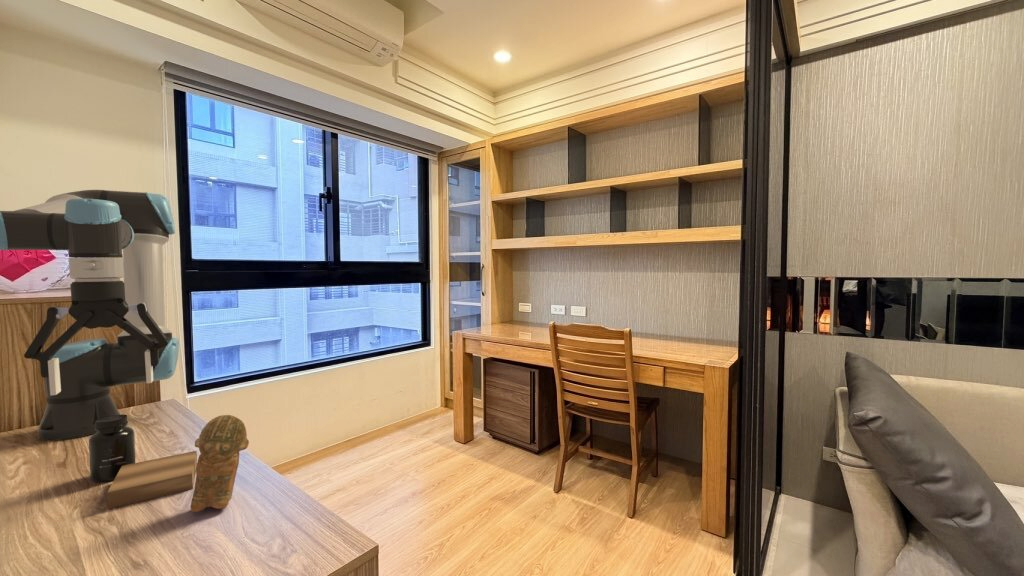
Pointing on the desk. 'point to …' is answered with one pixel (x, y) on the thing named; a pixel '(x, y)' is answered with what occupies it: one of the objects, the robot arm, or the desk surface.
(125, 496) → the pedestal
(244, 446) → the figurine
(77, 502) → the desk surface
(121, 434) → the supplement bottle
